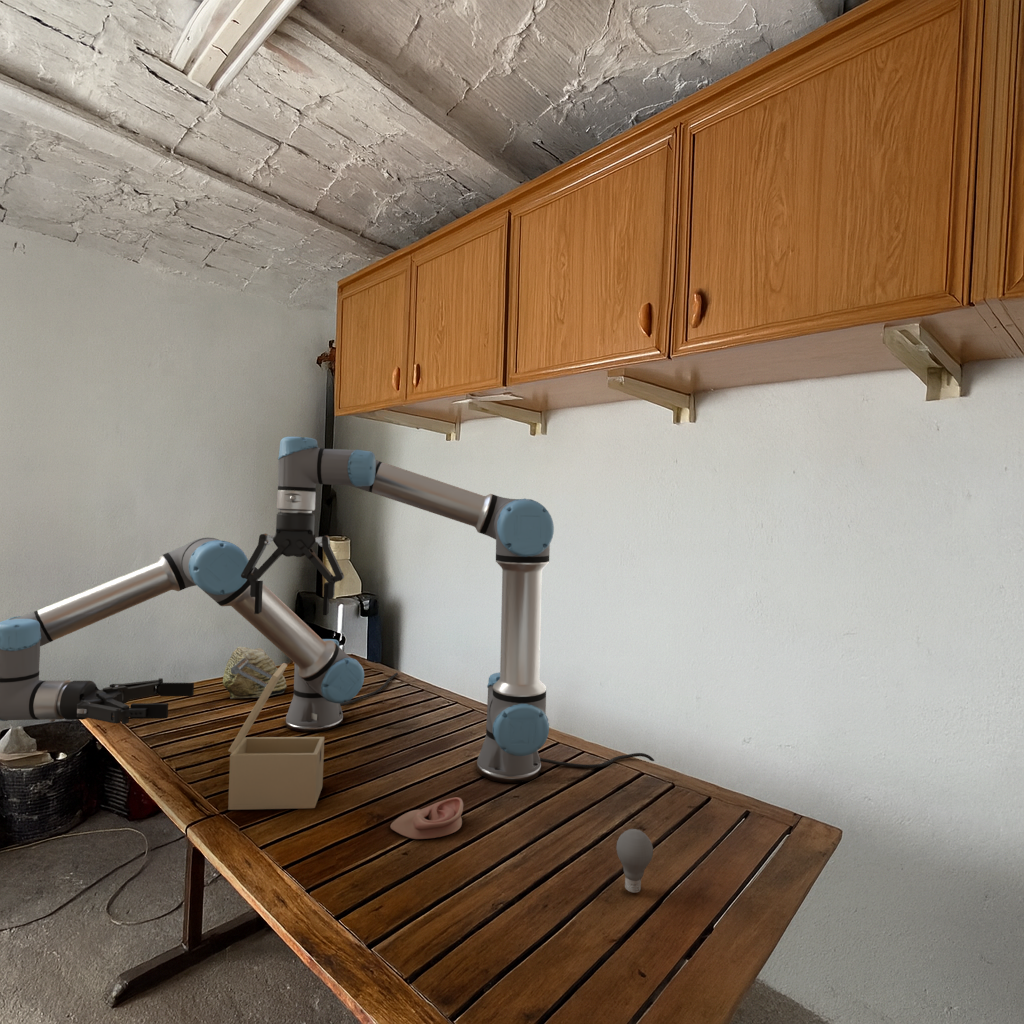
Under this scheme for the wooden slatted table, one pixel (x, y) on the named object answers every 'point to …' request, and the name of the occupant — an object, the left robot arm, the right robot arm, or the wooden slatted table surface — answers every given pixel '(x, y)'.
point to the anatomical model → (431, 820)
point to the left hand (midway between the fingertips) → (181, 699)
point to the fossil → (245, 686)
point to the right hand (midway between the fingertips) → (292, 613)
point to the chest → (276, 773)
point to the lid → (263, 698)
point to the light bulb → (634, 857)
